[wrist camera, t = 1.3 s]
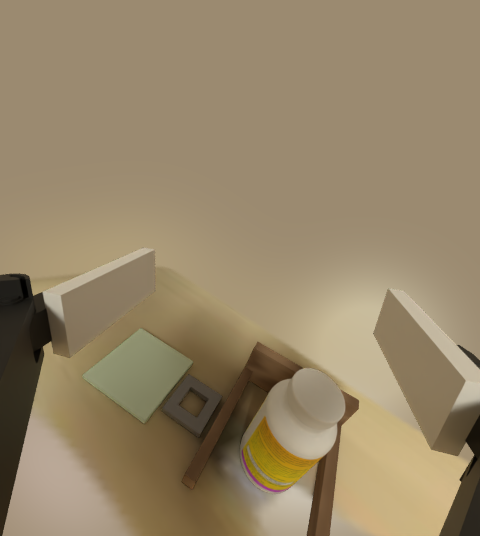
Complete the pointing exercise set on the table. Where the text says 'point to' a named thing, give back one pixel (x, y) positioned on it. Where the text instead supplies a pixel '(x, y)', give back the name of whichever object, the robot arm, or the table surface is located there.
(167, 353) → the mat
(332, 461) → the cubby
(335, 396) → the supplement bottle
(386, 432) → the table surface
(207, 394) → the hole frame
